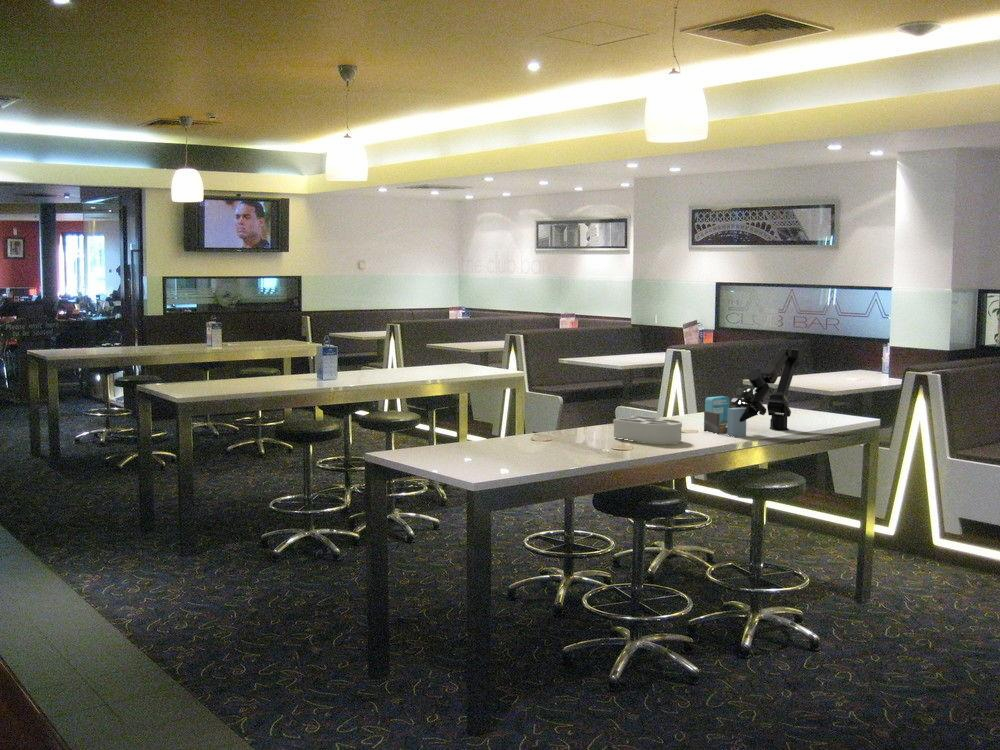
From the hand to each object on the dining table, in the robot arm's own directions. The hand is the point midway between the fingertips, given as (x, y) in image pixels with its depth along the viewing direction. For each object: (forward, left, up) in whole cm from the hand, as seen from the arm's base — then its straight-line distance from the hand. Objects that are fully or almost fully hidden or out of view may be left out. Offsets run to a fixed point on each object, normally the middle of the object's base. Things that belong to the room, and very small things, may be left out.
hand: (737, 420), depth 440 cm
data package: (-8, -41, -7) cm, 42 cm away
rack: (+2, -12, -7) cm, 14 cm away
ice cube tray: (+40, +3, -7) cm, 41 cm away
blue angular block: (0, 0, -7) cm, 7 cm away
